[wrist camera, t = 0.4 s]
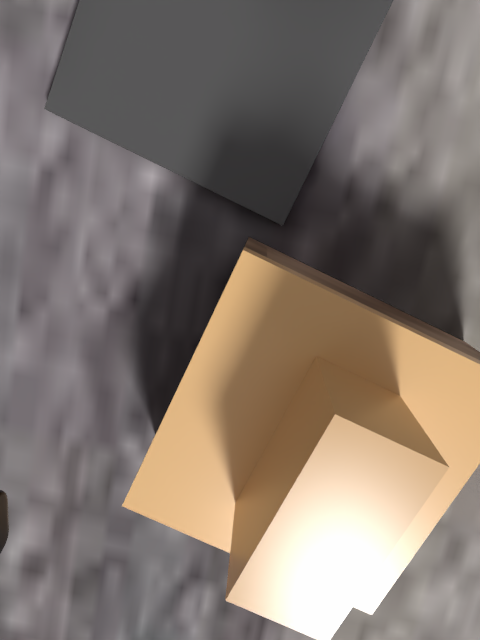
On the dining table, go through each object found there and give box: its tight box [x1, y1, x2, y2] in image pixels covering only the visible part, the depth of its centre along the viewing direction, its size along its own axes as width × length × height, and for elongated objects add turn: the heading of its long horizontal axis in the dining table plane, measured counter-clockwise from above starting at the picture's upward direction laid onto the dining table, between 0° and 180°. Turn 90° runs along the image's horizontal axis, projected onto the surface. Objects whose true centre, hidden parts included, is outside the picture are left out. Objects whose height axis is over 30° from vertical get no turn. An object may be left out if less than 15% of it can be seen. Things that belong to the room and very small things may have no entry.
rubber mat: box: [45, 0, 393, 226], centre depth 16 cm, size 10×9×1 cm
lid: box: [122, 247, 480, 640], centre depth 14 cm, size 10×10×6 cm
